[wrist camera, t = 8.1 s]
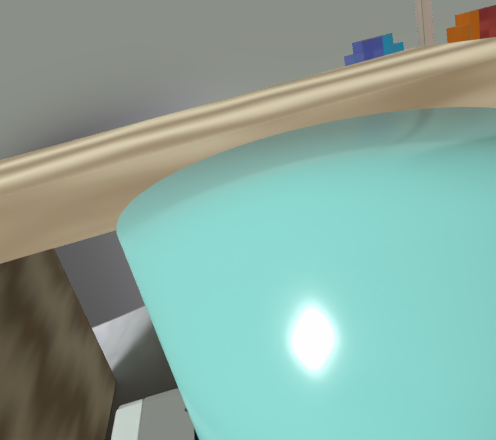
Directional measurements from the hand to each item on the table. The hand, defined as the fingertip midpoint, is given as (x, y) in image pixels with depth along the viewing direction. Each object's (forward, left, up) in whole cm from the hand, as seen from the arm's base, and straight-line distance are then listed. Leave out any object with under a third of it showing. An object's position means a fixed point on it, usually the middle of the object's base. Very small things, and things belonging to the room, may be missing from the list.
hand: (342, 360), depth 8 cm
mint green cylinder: (-1, +1, -5) cm, 6 cm away
